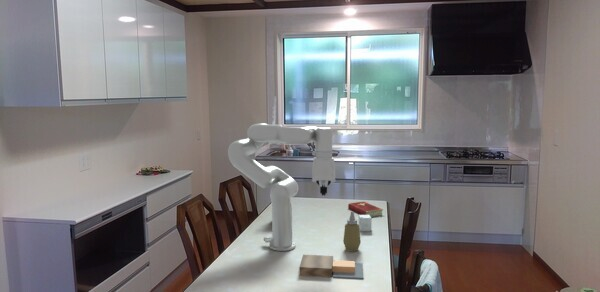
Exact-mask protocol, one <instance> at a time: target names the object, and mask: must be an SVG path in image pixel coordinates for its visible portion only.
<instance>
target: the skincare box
mask: <svg viewBox="0 0 600 292" xmlns="http://www.w3.org/2000/svg"><path fill="white" fill-rule="evenodd" d="M372 218H373V217H370V215H360V214H358V225H359V229H360V232H372V221H373V220H372Z"/></svg>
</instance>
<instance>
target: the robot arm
mask: <svg viewBox="0 0 600 292" xmlns="http://www.w3.org/2000/svg"><path fill="white" fill-rule="evenodd" d="M246 133H247V134H246V135H247V137H245V138H242V139H238V140H234V141H233V142H232V143H230V144H229V146H228V149H227V155H228V160H229V161H230V163H231V165H232V166H233V167H234V168H236V170H238V171H239V172H241V173H242V174H243V175H245V176H246V177H247V178H248V179H250V180H251V181H252V182H253V183H255V184H256V185H257V186H259V187H260V188H262V189H266V188H270V187H271V189H270V190H269V191H270V192H269V193H270V194H269V196H270V203H271V219H272V221H271V222H272V223H271V224H272V225H271V229H272V233H271V234H272V235H271V236H270V237H269V236H263V241H264V242H265V243H269V245H268V246H269V249H270V250H272V251H273V250H274V251H277V252H287V251H291V250H293V249H295V248H296V245H297V244H296V242H295V241H293V207H292V201H291V199H292V198H294V197H295V196H297V194H298V192H299V188H300V187H299V183H298V182H297V181H296V180H295V179H294V178H293V177H292V176H290V175H289V174H288V173H286V172H285V171H284V170H282V169H281V168H280V167H278V166H275V165H267V166H264V165H262V164H261V163H259V162H258V160H257V161H256V160H255V159H253V158H251V157H250V156H251V155H253V154H255V153H256V152H257V151H259V149H261V147H263V145H264V144H266V143H272V144H274V143H275V144H284V145H295V146H299V145H307V144H311V143H315V151H314V152H313V151H312V153H311V155H312V156H314V157H313V160H312V161H313V162H312V168H311V182H312V183H316V184H317V185H318V187H319V192H320V194H321V196H324V197H325V196H326V194H328V186H329V185H330V184H333V183H336V181H337V180H336V165H335V158H334V157H333V129H332V127H327V126H325V127H323V126H319V127H317V126H312V125H310V126H309V125H307V126H303V127H289V126H288V127H287V126H283V125H282V124H269V123H266V122H261V123H254V124H252V125H250V126H249V127H248V129H247V132H246ZM324 181H325V182H324ZM323 182H324V183H323Z"/></svg>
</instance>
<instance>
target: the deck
mask: <svg viewBox="0 0 600 292" xmlns="http://www.w3.org/2000/svg"><path fill="white" fill-rule="evenodd" d="M333 260H334V255H323V254H322V255H319V254H317V255H316V254H302V257H301V261H300V264H299V268H298V269H299V271H298V273H299V276H304V277H305V276H306V277H307V276H308V277H325V278H326V277H327V278H333V272H332V266H333Z"/></svg>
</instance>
